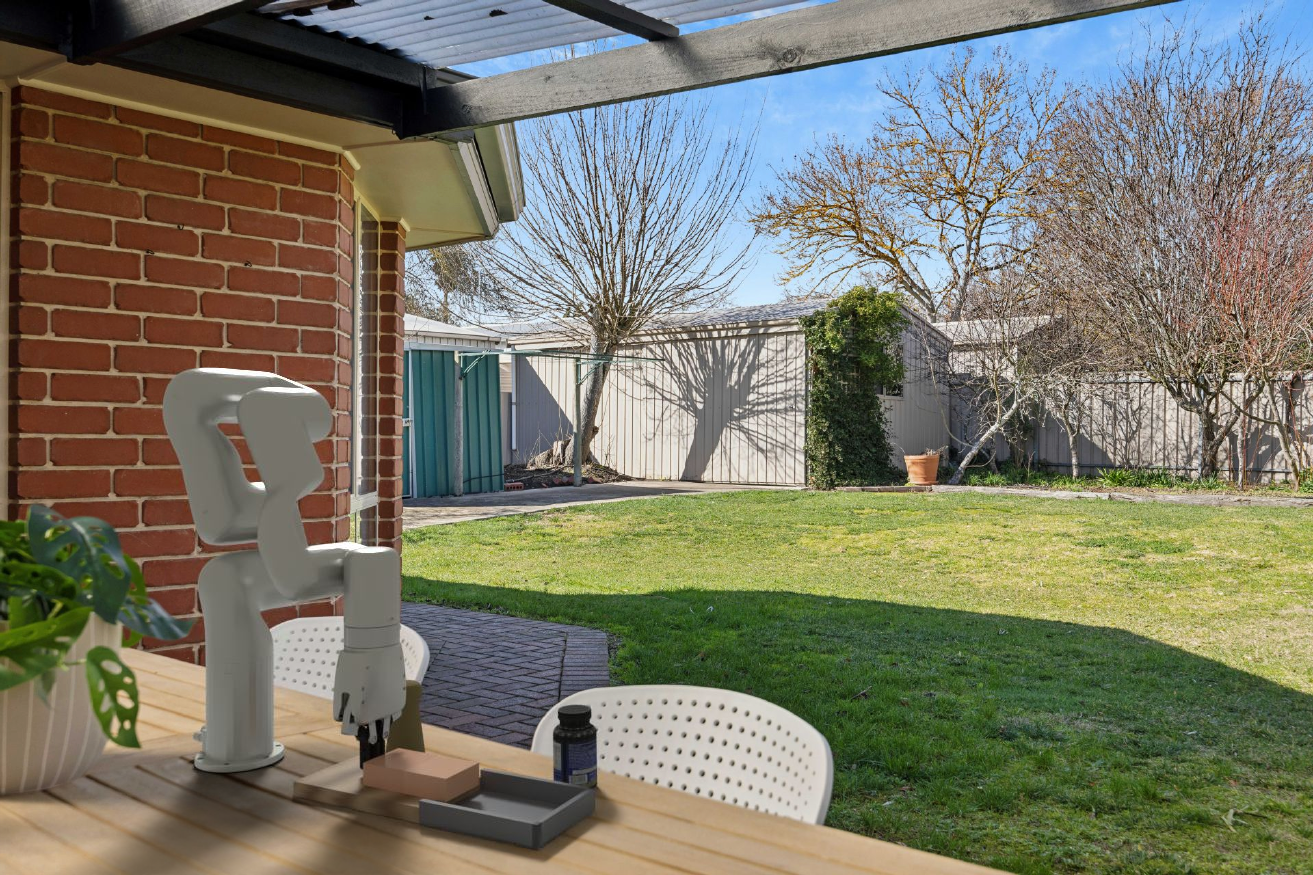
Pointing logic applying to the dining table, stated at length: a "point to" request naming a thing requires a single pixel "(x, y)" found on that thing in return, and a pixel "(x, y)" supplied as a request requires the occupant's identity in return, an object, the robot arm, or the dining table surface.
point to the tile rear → (391, 768)
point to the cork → (408, 723)
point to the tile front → (441, 778)
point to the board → (360, 792)
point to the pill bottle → (575, 747)
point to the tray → (513, 809)
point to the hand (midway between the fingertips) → (372, 768)
